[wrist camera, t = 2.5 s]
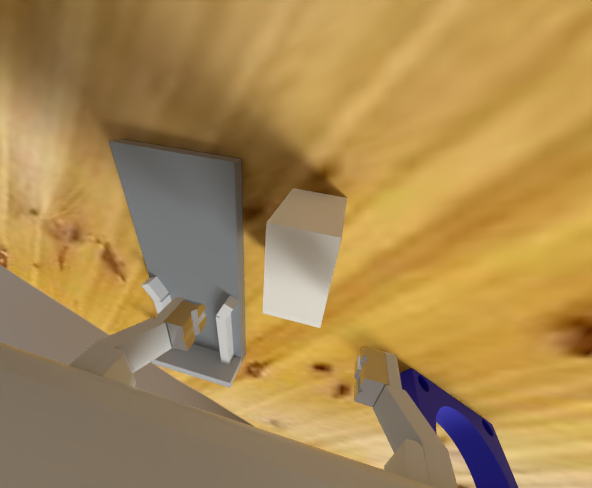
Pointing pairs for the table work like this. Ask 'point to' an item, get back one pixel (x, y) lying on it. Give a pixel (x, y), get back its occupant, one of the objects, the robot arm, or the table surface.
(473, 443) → the cable clip
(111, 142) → the mounting plate
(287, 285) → the panel block
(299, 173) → the table surface
